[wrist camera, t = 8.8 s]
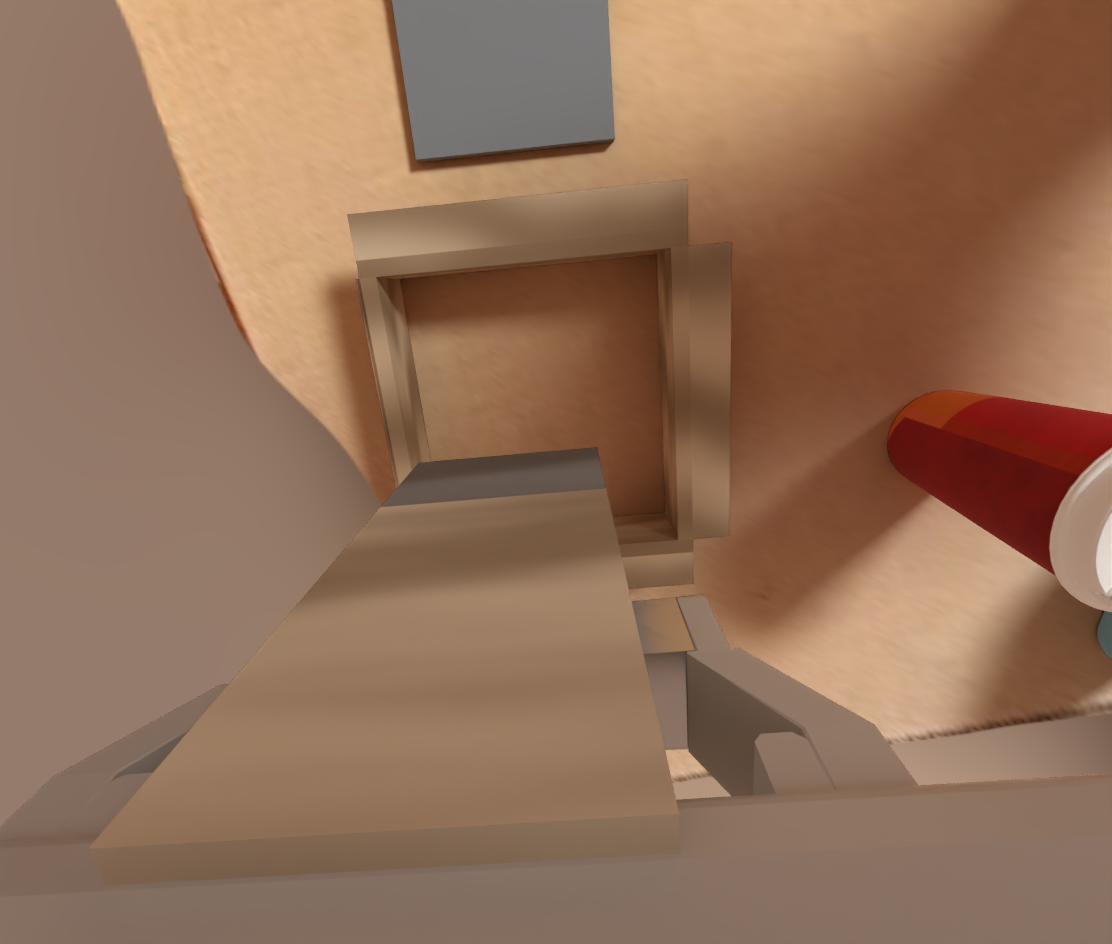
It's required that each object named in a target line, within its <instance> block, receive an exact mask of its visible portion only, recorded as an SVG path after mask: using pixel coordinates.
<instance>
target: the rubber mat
mask: <svg viewBox="0 0 1112 944" xmlns="http://www.w3.org/2000/svg"><path fill="white" fill-rule="evenodd" d="M392 5H393V12H394V19H395V25H396V32H397V38H398V45H399V52H400V58H401V65H402V71H403V78H404V84H405V91H406V98H407V104H408V111H409V117H410V124H411V130H412V137H413V144H414V150H415V157H416V160H417V161H418V162H428V161H438V160H447V159H456V158H466V157H475V156H484V155H494V154H503V153H512V152H522V151H531V150H540V149H550V148H559V147H568V146H578V145H587V144H596V143H606V142H614V139H615V135H614V115H613V96H612V76H611V57H610V37H609V17H608V0H392Z"/></svg>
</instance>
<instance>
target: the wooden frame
mask: <svg viewBox="0 0 1112 944" xmlns="http://www.w3.org/2000/svg"><path fill="white" fill-rule="evenodd" d="M347 216H348V221H349V227H350V232H351V237H352V242H353V248H354V253H355V258H356V263H357V268H358V274H359V279H356V284H357V289H358V295H359V300H360V305H361V310H362V315H363V320H364V325H365V331H366V336H367V341H368V346H369V351H370V356H371V361H372V367H373V372H374V377H375V382H376V387H377V392H378V398H379V403H380V408H381V413H382V418H383V423H384V428H385V434H386V439H387V444H388V449H389V454H390V459H391V464H392V470H393V475H394V480H395V485H396V488H397V487H398V486H399V485H400V484H401V482H402V481H403V480H404V479H405V478H406V477H407V475H408V474H409V473H410V472H411V471H412V470H413V468H414V467H415V466H416V465H417V464H418V463H422V462H431V459H430V453H429V447H428V442H427V436H426V430H425V424H424V418H423V412H422V406H421V401H420V395H419V389H418V383H417V377H416V371H415V365H414V359H413V354H412V348H411V342H410V336H409V330H408V324H407V318H406V312H405V307H404V301H403V295H402V289H401V283H400V279H409V278H419V277H429V276H439V275H450V274H460V273H470V272H480V271H490V270H500V269H510V268H520V267H530V266H541V265H551V264H561V263H571V262H581V261H591V260H601V259H611V258H621V257H632V256H642V255H652V254H657V272H658V303H659V334H660V365H661V397H662V428H663V459H664V490H665V513H653V514H640V515H628V516H616V517H613V521H614V526H615V530H616V534H617V539H618V543H619V548H620V552H621V557H622V561H623V566H624V570H625V575H626V579H627V583H628V588H629V589H633V588H646V587H659V586H673V585H686V584H694V578H693V539H699V538H712V537H725V536H730V406H731V273H732V242H725V243H715V244H705V245H694V246H688V186H687V179H684V180H675V181H665V182H655V183H646V184H636V185H626V186H617V187H607V188H598V189H588V190H578V191H569V192H559V193H550V194H540V195H530V196H521V197H511V198H501V199H492V200H482V201H473V202H463V203H453V204H444V205H434V206H424V207H415V208H405V209H396V210H386V211H376V212H367V213H357V214H348V215H347Z"/></svg>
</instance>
